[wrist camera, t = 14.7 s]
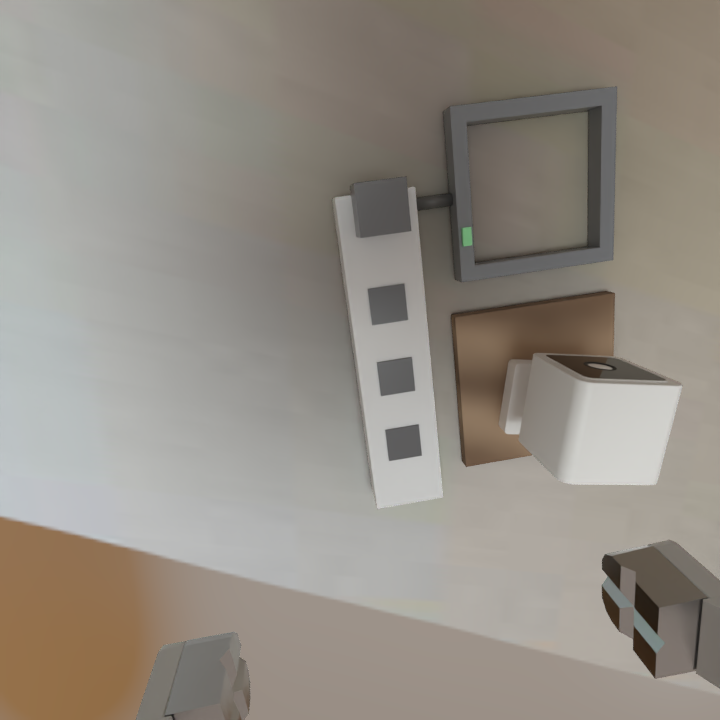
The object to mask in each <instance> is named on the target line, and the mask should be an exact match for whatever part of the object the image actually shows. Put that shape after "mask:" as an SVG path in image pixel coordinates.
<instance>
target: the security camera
mask: <svg viewBox="0 0 720 720" xmlns="http://www.w3.org/2000/svg"><path fill="white" fill-rule="evenodd" d="M682 386H683V385H682V384H681V383H680V382H678V381H675V380H673V379H670V378H668V377H666V376H663V375H661V374H658V373H656V372H654V371H651V370H649V369H647V368H644V367H642V366H639V365H637V364H635V363H632V362H630V361H627V360H625V359H622V358H619V357H613V356H600V355H577V354H554V353H534V354H533V358H532V360H521V359H511V360H510V361H509V362H508V368H507V375H506V381H505V387H504V393H503V400H502V406H501V412H500V418H499V427H500V428H501V429H502V430H503V431H504V432H505V433H506V434H519V442H520V443H521V444H522V445H523V446H524V447H525V448H526V449H527V450H528V451H529V452H530V453H531V454H532V455H533V456H534V457H535V458H536V459H537V460H538V461H539V462H540V463H541V464H542V465H543V466H544V467H545V468H546V469H547V470H548V471H549V472H550V473H551V474H552V475H553V476H554V477H555V478H556V479H557V480H559V481H561V482H564V483H567V484H574V485H655V484H657V481H658V477H659V474H660V470H661V466H662V462H663V458H664V455H665V451H666V447H667V443H668V439H669V436H670V432H671V428H672V424H673V420H674V417H675V413H676V409H677V405H678V401H679V398H680V394H681V390H682Z"/></svg>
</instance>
